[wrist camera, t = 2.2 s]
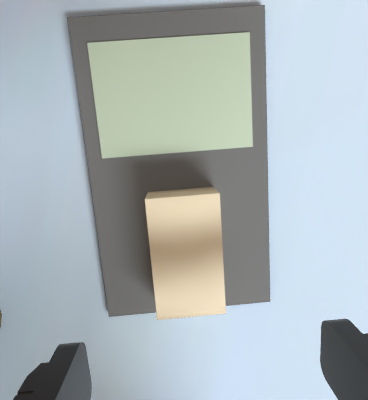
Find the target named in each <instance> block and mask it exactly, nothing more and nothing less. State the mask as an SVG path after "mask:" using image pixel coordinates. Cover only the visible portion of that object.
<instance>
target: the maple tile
mask: <svg viewBox="0 0 368 400" xmlns="http://www.w3.org/2000/svg"><path fill="white" fill-rule="evenodd" d="M145 206H146V216H147V226H148V235H149V245H150V255H151V264H152V274H153V284H154V294H155V303H156V313H157V320H161V319H172V318H182V317H193V316H203V315H214V314H225V313H226V304H225V285H224V265H223V246H222V227H221V207H220V193H219V192H218V191H217V190H216V189H215V188H214V187H206V188H194V189H182V190H170V191H157V192H148V193H147V195H146V198H145Z"/></svg>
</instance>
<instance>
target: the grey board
mask: <svg viewBox="0 0 368 400" xmlns="http://www.w3.org/2000/svg"><path fill="white" fill-rule="evenodd" d="M67 19H68V26H69V33H70V40H71V48H72V55H73V62H74V69H75V76H76V84H77V91H78V98H79V105H80V112H81V119H82V127H83V134H84V141H85V148H86V155H87V163H88V170H89V177H90V184H91V191H92V199H93V206H94V213H95V220H96V227H97V234H98V242H99V249H100V256H101V263H102V270H103V278H104V285H105V292H106V299H107V306H108V314H109V317H112V316H123V315H133V314H144V313H154V312H156V303H155V294H154V284H153V274H152V264H151V255H150V245H149V235H148V226H147V216H146V206H145V198H146V195H147V193H148V192H157V191H170V190H182V189H194V188H206V187H214V188H215V189H216V190H217V191H218V192H219V193H220V207H221V227H222V246H223V265H224V285H225V304H226V306H229V305H239V304H250V303H261V302H270V266H269V212H268V158H267V104H266V51H265V5H257V6H241V7H225V8H209V9H193V10H177V11H162V12H146V13H130V14H114V15H98V16H82V17H67Z"/></svg>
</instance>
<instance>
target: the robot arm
mask: <svg viewBox="0 0 368 400" xmlns="http://www.w3.org/2000/svg"><path fill="white" fill-rule="evenodd" d="M320 362H321V368H322V372H323V374H324V377H325V379H326V381H327V383H328V384H329V386H330V387H331V389H332V391H333V392H334V394H335V395H336V397H337V398H338V400H368V334H362V333H361V332H360V331H359V330H358V329H357V328H356V327H355V325H354V324H353V323H352V322H351V321H349V320H348V319H338V320H327V321H323V322H322V325H321V354H320ZM90 398H91V377H90V371H89V365H88V359H87V353H86V347H85V344H84V343H83V342H80V343H69V344H60V345H59V346H58V347H57V349H56V350H55V352H54V354H53V356H52V358H51V360H50V362H49V363H41V364H40V365H39V366H38V367H37V368H36V369H35V370H34V371H32V372H31V373H30V374H29V375H28V376H27V377H26V379H25V381H24V382H23V384H22V386H21V387H20V389H19V391H18V394H17V395H16V396H15V398H14V399H13V400H90Z"/></svg>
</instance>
